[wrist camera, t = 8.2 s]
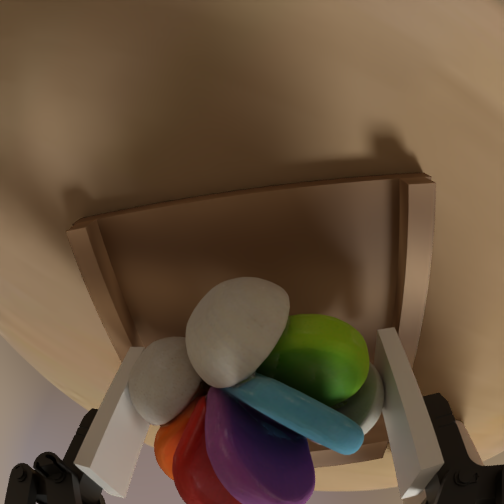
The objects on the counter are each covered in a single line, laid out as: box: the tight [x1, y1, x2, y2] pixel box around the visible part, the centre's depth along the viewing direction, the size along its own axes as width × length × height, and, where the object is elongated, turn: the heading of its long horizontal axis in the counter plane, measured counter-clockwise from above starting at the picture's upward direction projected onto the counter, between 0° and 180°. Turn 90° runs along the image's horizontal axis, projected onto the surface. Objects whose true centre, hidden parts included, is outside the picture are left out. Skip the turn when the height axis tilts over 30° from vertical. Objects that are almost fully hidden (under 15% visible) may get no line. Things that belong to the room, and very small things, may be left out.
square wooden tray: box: [66, 173, 436, 468], centre depth 15 cm, size 16×16×4 cm
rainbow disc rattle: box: [128, 277, 385, 504], centre depth 10 cm, size 8×10×7 cm
